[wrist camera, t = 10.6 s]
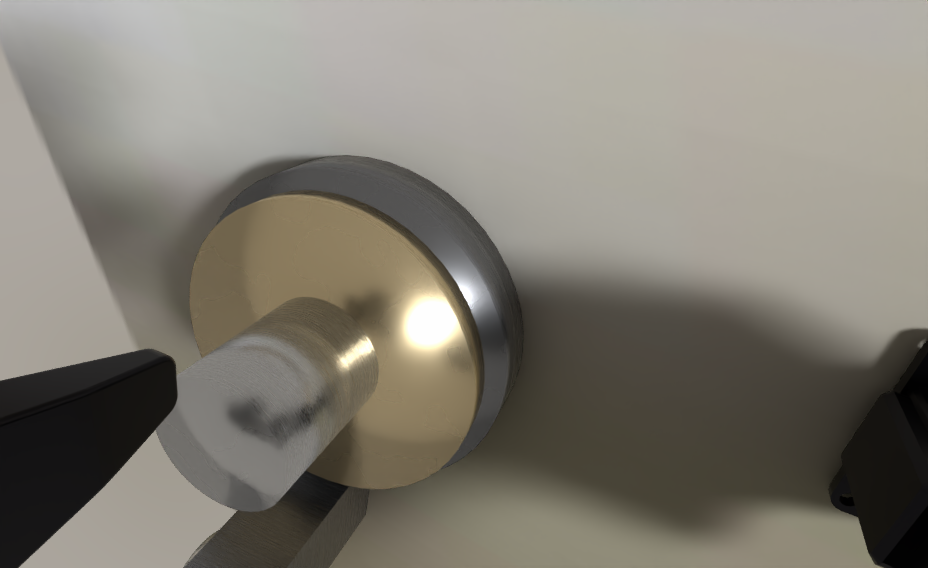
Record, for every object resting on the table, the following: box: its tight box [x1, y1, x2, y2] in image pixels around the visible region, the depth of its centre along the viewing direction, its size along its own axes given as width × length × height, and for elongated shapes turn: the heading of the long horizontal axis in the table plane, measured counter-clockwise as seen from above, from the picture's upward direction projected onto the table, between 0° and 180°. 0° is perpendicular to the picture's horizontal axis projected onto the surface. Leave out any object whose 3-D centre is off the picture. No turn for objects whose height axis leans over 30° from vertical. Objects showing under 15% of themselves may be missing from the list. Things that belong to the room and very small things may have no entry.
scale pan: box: [190, 190, 485, 489], centre depth 21 cm, size 11×11×1 cm
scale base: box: [183, 156, 523, 568], centre depth 20 cm, size 12×17×9 cm
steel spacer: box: [156, 297, 379, 512], centre depth 18 cm, size 4×4×5 cm
